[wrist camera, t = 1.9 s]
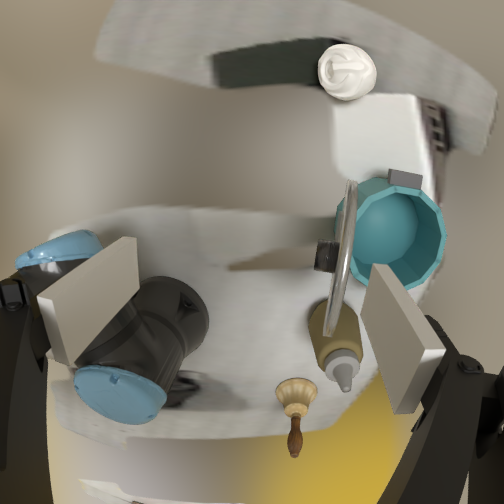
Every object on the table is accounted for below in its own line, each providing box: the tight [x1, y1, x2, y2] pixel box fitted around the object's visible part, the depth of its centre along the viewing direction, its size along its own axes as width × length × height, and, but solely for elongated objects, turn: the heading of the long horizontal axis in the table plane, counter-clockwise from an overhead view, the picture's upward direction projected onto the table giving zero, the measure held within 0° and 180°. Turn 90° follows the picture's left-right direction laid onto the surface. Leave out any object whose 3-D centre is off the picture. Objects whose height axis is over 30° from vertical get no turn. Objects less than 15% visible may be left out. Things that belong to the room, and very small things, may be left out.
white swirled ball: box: [318, 44, 377, 101], centre depth 34 cm, size 8×8×8 cm
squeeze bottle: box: [308, 300, 363, 392], centre depth 42 cm, size 8×8×18 cm
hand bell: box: [276, 378, 317, 458], centre depth 50 cm, size 8×8×16 cm
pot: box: [334, 169, 447, 290], centre depth 40 cm, size 18×15×9 cm
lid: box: [314, 180, 358, 337], centre depth 30 cm, size 15×16×3 cm
